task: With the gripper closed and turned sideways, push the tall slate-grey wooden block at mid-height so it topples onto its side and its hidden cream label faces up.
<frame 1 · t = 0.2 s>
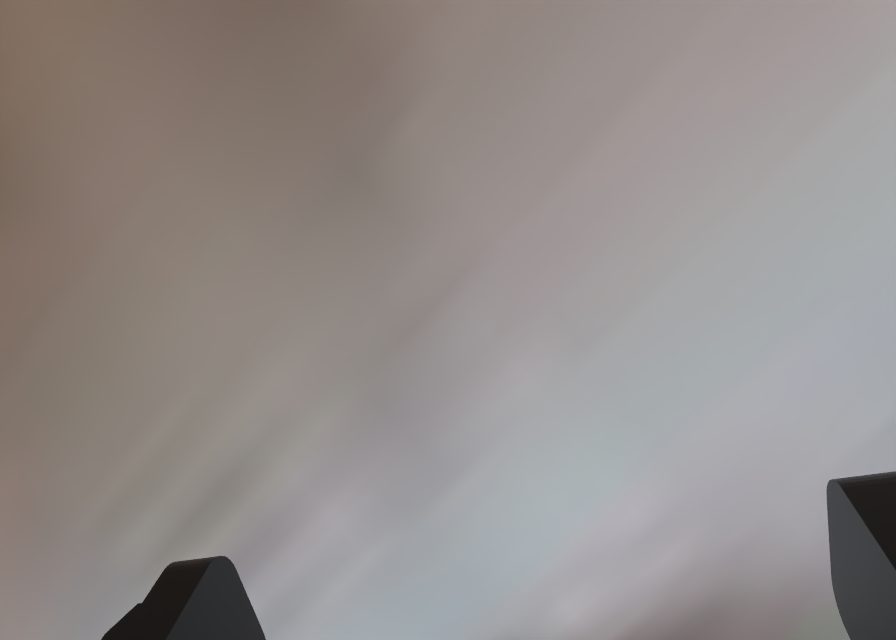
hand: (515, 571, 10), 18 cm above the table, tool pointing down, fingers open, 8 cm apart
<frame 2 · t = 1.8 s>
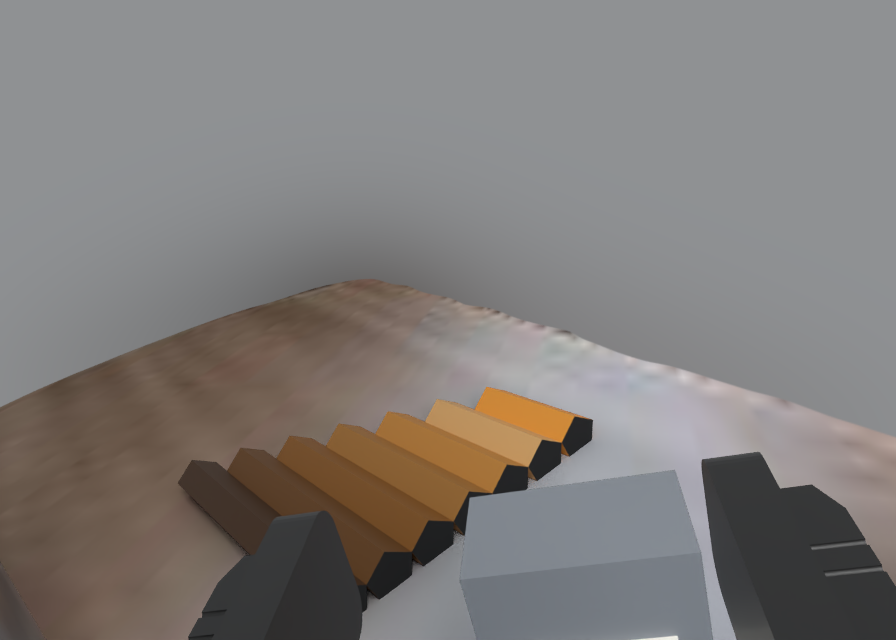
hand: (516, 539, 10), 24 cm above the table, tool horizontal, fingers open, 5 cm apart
pan flute: (381, 476, 59), on the table
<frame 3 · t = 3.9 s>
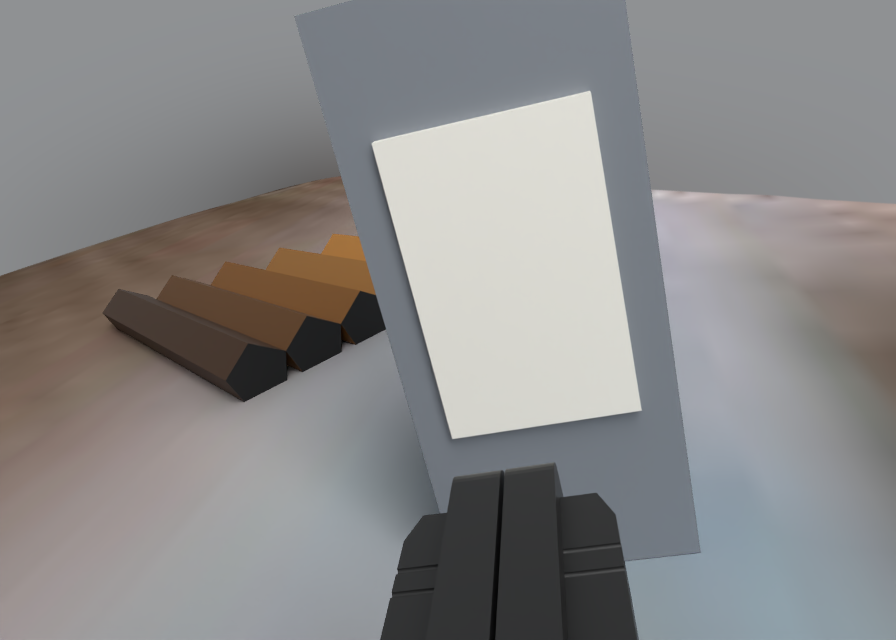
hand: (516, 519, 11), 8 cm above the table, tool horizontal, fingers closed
slate block: (572, 521, 23), on the table
pan flute: (324, 297, 54), on the table
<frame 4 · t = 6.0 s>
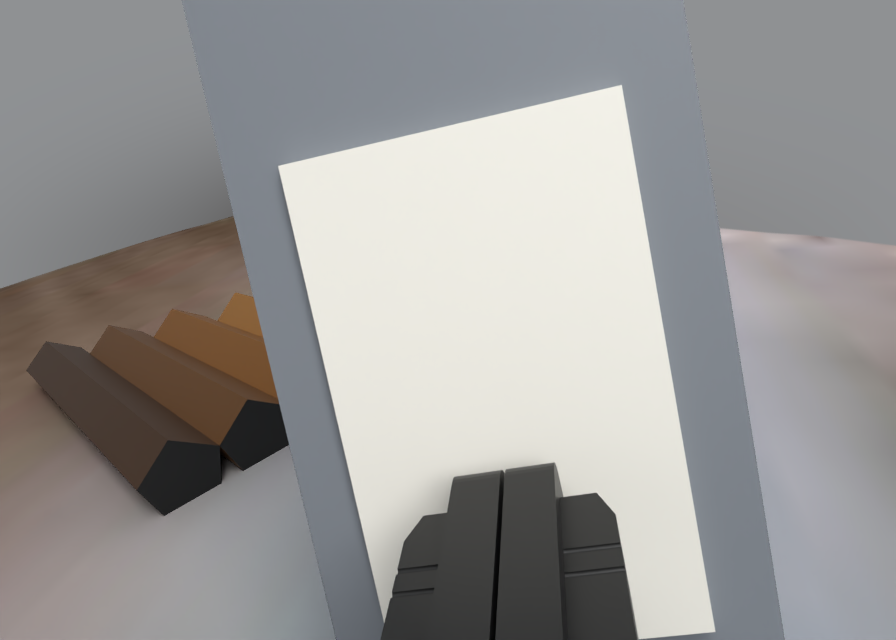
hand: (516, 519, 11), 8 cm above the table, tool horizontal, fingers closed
pan flute: (286, 353, 45), on the table
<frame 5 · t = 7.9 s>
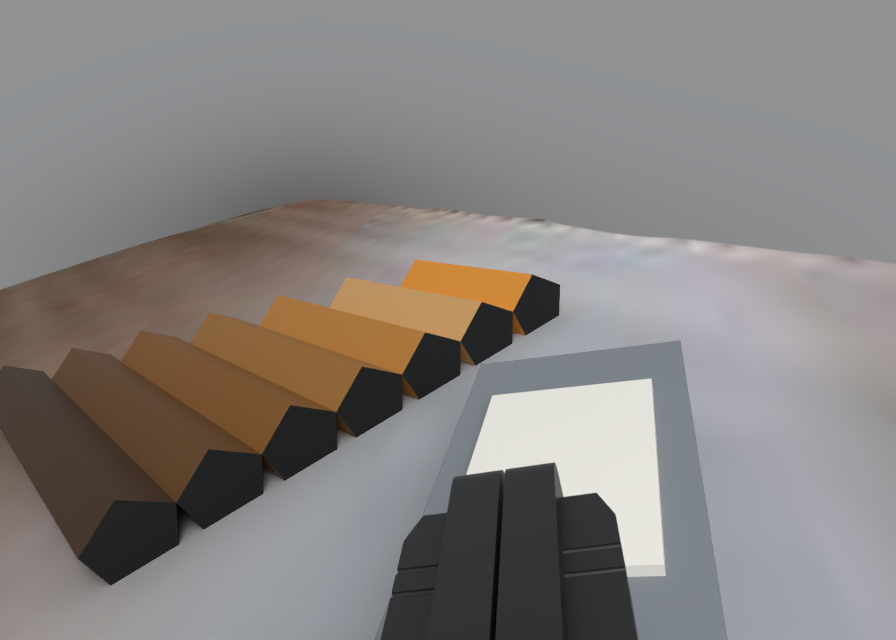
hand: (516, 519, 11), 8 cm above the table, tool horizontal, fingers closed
pan flute: (263, 380, 42), on the table
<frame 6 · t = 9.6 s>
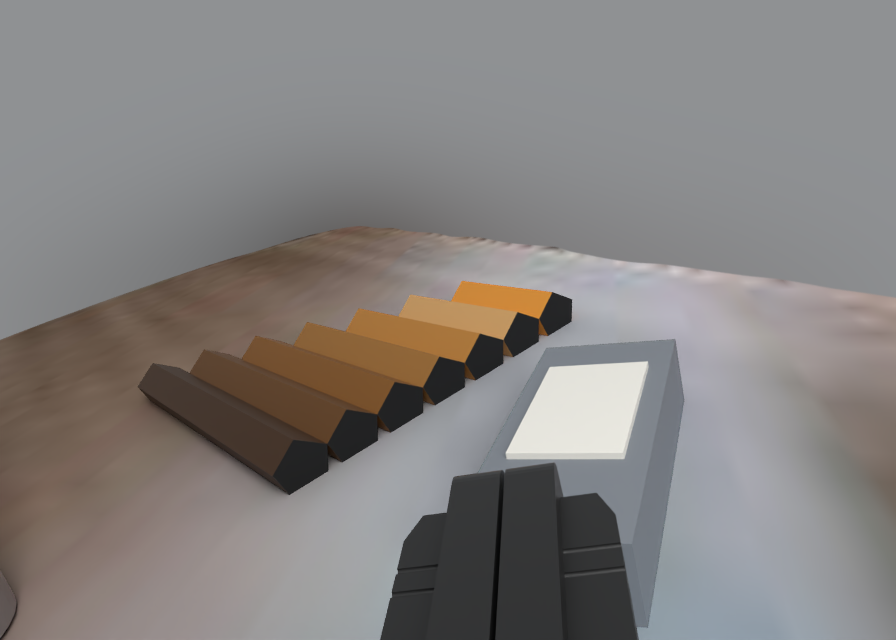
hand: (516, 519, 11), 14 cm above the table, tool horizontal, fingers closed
slate block: (543, 583, 26), point 2 cm above the table, tilted 90°
pan flute: (351, 371, 56), on the table
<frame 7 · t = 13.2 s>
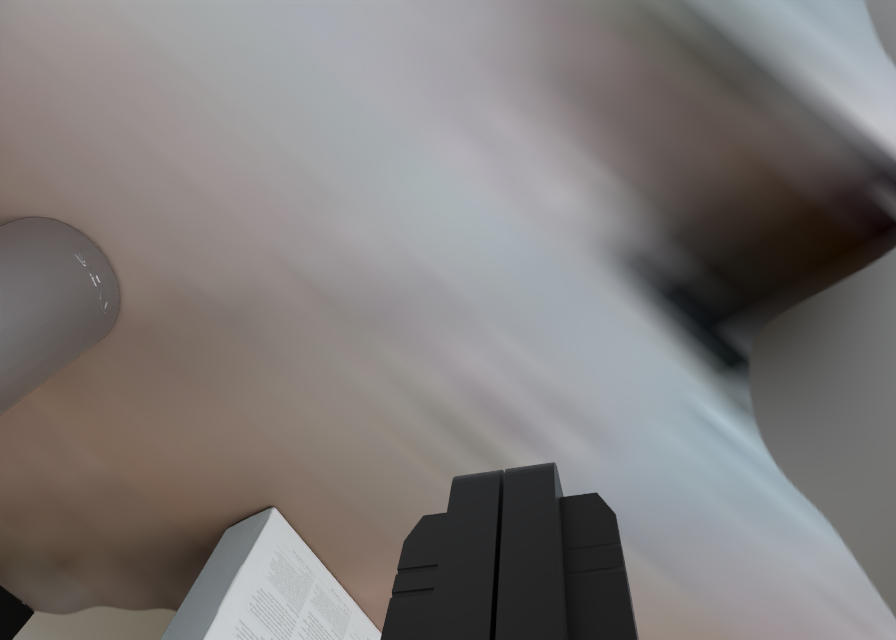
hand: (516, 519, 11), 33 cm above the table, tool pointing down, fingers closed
skincare box: (330, 611, 57), on the table
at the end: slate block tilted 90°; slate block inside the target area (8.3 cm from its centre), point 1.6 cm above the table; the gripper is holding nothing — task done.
